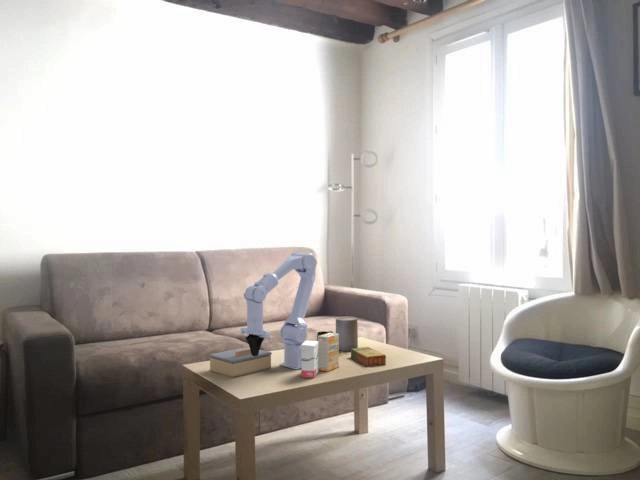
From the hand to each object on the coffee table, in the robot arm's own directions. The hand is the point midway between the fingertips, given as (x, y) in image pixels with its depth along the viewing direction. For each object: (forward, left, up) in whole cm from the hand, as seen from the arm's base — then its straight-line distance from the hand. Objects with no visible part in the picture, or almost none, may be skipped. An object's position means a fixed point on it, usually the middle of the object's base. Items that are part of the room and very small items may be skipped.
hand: (255, 355), depth 205 cm
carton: (-18, -44, -7) cm, 48 cm away
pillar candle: (+2, -54, -7) cm, 54 cm away
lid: (+9, 0, -1) cm, 9 cm away
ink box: (-16, -13, -7) cm, 21 cm away
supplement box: (-15, -24, -7) cm, 29 cm away
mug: (-5, -33, -7) cm, 34 cm away
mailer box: (+8, 0, -7) cm, 11 cm away
